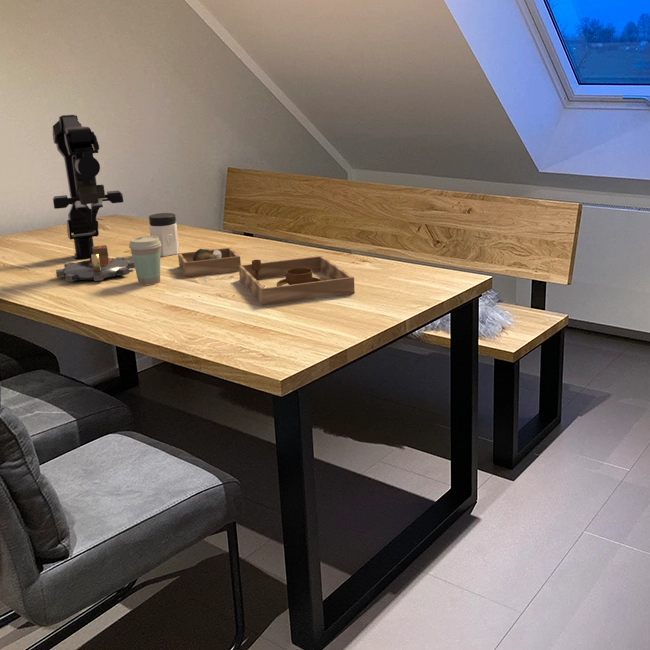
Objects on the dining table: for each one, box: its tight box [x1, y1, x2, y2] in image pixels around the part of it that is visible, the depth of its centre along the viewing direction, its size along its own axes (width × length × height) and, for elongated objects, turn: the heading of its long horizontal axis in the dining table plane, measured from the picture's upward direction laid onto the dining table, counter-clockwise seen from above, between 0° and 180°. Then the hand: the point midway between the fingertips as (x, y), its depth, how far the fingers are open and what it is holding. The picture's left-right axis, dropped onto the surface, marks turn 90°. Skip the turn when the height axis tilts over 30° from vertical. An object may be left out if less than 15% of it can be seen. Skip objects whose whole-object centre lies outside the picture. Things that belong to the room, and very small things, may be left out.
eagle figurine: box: [192, 248, 222, 261], centre depth 227 cm, size 8×7×9 cm
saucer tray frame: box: [238, 255, 356, 306], centre depth 207 cm, size 26×24×4 cm
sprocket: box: [55, 254, 135, 282], centre depth 227 cm, size 22×22×6 cm
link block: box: [92, 244, 110, 262], centre depth 232 cm, size 4×4×4 cm
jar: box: [148, 212, 180, 257], centre depth 248 cm, size 9×8×12 cm
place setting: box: [251, 259, 327, 288], centre depth 210 cm, size 18×20×6 cm
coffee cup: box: [128, 235, 161, 286], centre depth 216 cm, size 8×8×12 cm
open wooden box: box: [177, 247, 242, 278], centre depth 228 cm, size 13×16×4 cm
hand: (92, 229), depth 227 cm, fingers closed
